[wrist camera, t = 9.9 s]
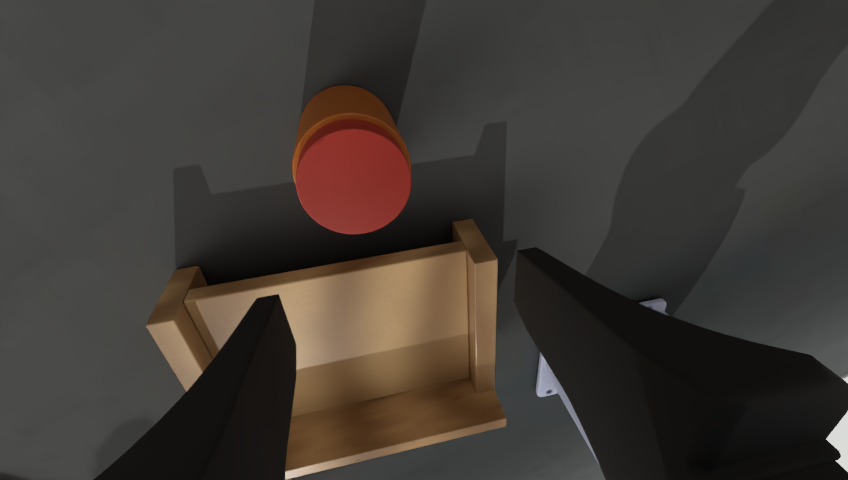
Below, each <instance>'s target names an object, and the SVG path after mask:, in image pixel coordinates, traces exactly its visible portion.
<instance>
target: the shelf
mask: <svg viewBox="0 0 848 480" xmlns="http://www.w3.org/2000/svg"><path fill="white" fill-rule="evenodd" d="M452 230H453V242H452V243H447V244H441V245H436V246H430V247H424V248H419V249H413V250H408V251H402V252H396V253H391V254H385V255H380V256H374V257H368V258H363V259H357V260H352V261H346V262H340V263H335V264H329V265H324V266H318V267H312V268H307V269H301V270H296V271H290V272H284V273H279V274H273V275H268V276H262V277H256V278H251V279H245V280H240V281H234V282H228V283H223V284H217V285H212V286H208V285H207V282H206V280H205V278H204V276H203V274H202V272H201V270H200V267H199V266H194V267H188V268H182V269H177V270H175V271H174V273H173V275H172V277H171V279H170V280H169V282H168V284H167V286H166V288H165V290H164V292H163V294H162V296H161V297H160V299H159V301H158V303H157V305H156V307H155V309H154V311H153V313H152V314H151V316H150V318H149V320H148V322H147V324H146V327H147V329H148V330H149V332H150V333H151V335H152V337H153V338H154V340H155V341H156V343H157V345H158V346H159V348H160V350H161V351H162V353H163V354H164V356H165V358H166V359H167V361H168V363H169V364H170V366H171V367H172V369H173V371H174V372H175V374H176V376H177V377H178V379H179V380H180V382H181V384H182V385H183V387H184V389H185V390H186V392H187V391H188V390H189V388H190V387H191V386H192V385H193V384H194V383H195V381H196V380H197V379H198V378H199V376H200V375H201V374H202V373H203V371H204V370H205V369H206V368H207V366H208V365H209V364H210V363H211V361H212V360H213V359H214V358H215V356H216V355H217V354H218V352H219V351H220V349H221V348H222V347H223V345H224V344H225V343H226V341H227V340H228V338H229V337H230V336H231V334H232V333H233V331H234V330H235V329H236V327H237V326H238V324H239V323H240V321H241V320H242V318H243V317H244V316H245V314H246V313H247V311H248V310H249V308H250V307H251V305H252V304H253V303H254V301H255V300H256V299H257V298H260V297H265V296H271V295H276V294H279V296H280V299H281V302H282V305H283V308H284V311H285V313H286V316H287V319H288V322H289V325H290V328H291V331H292V334H293V336H294V339H295V342H296V384H295V392H294V400H293V408H292V416H291V423H290V431H289V439H288V446H287V456H286V467H285V480H286V479H291V478H295V477H299V476H303V475H307V474H311V473H315V472H319V471H323V470H328V469H332V468H336V467H340V466H344V465H348V464H352V463H356V462H360V461H365V460H369V459H373V458H377V457H381V456H385V455H389V454H393V453H398V452H402V451H406V450H410V449H414V448H418V447H422V446H426V445H430V444H435V443H439V442H443V441H447V440H451V439H455V438H459V437H463V436H467V435H472V434H476V433H480V432H484V431H488V430H492V429H496V428H500V427H505V426H506V416H505V413H504V411H503V409H502V406H501V404H500V401H499V399H498V397H497V394H496V392H495V389H494V386H495V349H496V313H497V276H498V259H497V257H496V256H495V254H494V253H493V251H492V249H491V248H490V246H489V245H488V243H487V241H486V240H485V238H484V237H483V235H482V234H481V232H480V230H479V229H478V227H477V226H476V224H475V222H474V221H473V219H467V220H461V221H455V222H452Z"/></svg>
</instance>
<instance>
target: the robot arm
mask: <svg viewBox="0 0 848 480" xmlns="http://www.w3.org/2000/svg"><path fill="white" fill-rule="evenodd" d="M514 302H515V304H516V307H517V309H518V311H519V314H520V316H521V318H522V320H523V323H524V325H525V327H526V329H527V331H528V332H529V334H530V336H531V337H532V339H533V341H534V342H535V344H536V346H537V347H538V349H539V351H540V358H539V366H538V375H537V384H536V393H537V395H538V396H539V397H544V396H548V395H553V394H557V393H558V394H559V395H560V397H561V399H562V401H563V402H564V404H565V406H566V408H567V409H568V411H569V413H570V415H571V416H572V418H573V420H574V422H575V423H576V425H577V427H578V429H579V430H580V432H581V434H582V436H583V437H584V439H585V441H586V443H587V444H588V446H589V448H590V450H591V451H592V453H593V455H594V457H595V458H596V460H597V462H598V464H599V465H600V467H601V470H602V472H603V474H604V477H605V479H606V480H848V472H847V471H845V470H844V469H843V468H842V467H841V466H840V465H839V464H838V463H837V462H836V461H835V460H838V459H839V458H840V457H841V455H840V453H839V451H838V450H837V449H836V448H835V447H834V446H832V445H831V444H830V443H829V442H828V441H827V440H826V438H827V437H828V435H829V434H830V433H831V431H832V430H833V429H834V428H835V426H836V425H837V424H838V423H839V421H840V420H841V419H842V417H843V416H844V415H845V414H846V412H847V411H848V384H847V383H846V382H845V381H844V380H843V379H841V378H840V377H839V376H837V375H836V374H835V373H833V372H832V371H831V370H830V369H828V368H827V367H826V366H824V365H823V364H822V363H820V362H819V361H818V360H816V359H815V358H814V357H813V356H811V355H808V354H804V353H799V352H795V351H790V350H786V349H781V348H777V347H772V346H768V345H763V344H759V343H755V342H751V341H747V340H743V339H740V338H736V337H733V336H729V335H725V334H722V333H719V332H715V331H712V330H709V329H705V328H702V327H699V326H697V325H694V324H691V323H688V322H685V321H682V320H679V319H676V318H674V317H671V316H669V315H668V314H667V313H666V312H665V308H666V304H667V303H666V301H665V300H663V299H662V298H659V299H654V300H649V301H644V302H640V303H637V302H635V301H633V300H631V299H628V298H626V297H624V296H622V295H620V294H618V293H616V292H614V291H612V290H610V289H608V288H606V287H604V286H603V285H601V284H599V283H597V282H595V281H593V280H592V279H590V278H588V277H586V276H585V275H583V274H581V273H579V272H578V271H576V270H574V269H572V268H571V267H569V266H567V265H566V264H564V263H562V262H561V261H559V260H557V259H556V258H554V257H552V256H551V255H549V254H547V253H545V252H544V251H542V250H540V249H538V248H536V247H534V248H529V249H524V250H518V251H517V263H516V280H515V297H514ZM295 384H296V342H295V339H294V336H293V334H292V331H291V328H290V325H289V322H288V319H287V316H286V313H285V311H284V308H283V305H282V302H281V299H280V296H279V294H276V295H271V296H265V297H260V298H257V299H256V300H255V301H254V303H253V304H252V305H251V307H250V308H249V310H248V311H247V313H246V314H245V316H244V317H243V318H242V320H241V321H240V323H239V324H238V326H237V327H236V329H235V330H234V331H233V333H232V334H231V336H230V337H229V338H228V340H227V341H226V343H225V344H224V345H223V347H222V348H221V349H220V351H219V352H218V354H217V355H216V356H215V358H214V359H213V360H212V361H211V363H210V364H209V365H208V366H207V368H206V369H205V370H204V371H203V373H202V374H201V375H200V376H199V378H198V379H197V380H196V381H195V383H194V384H193V385H192V386H191V387H190V388H189V390H188V391H187V392H186V393H185V394H184V395H183V396H182V397H181V398H180V400H179V401H178V402H177V403H176V404H175V405H174V406H173V407H172V408H171V409H170V410H169V411H168V412H167V413H166V414H165V415H164V416H163V417H162V418H161V419H160V420H159V421H158V422H157V423H156V424H155V425H154V426H153V427H152V428H151V429H150V430H149V431H148V432H147V433H146V434H145V435H144V436H142V437H141V438H140V439H139V440H138V441H137V442H136V443H135V444H134V445H133V446H132V447H131V448H130V449H129V450H128V451H127V452H125V453H124V454H123V455H122V456H121V457H120V458H119V459H118V460H116V461H115V462H114V463H113V464H112V465H111V466H109V467H108V468H107V469H106V470H105V471H104V472H102V473H101V474H100V475H99V476H98V477H96V478H95V479H94V480H285V467H286V456H287V446H288V439H289V431H290V423H291V416H292V408H293V400H294V392H295Z"/></svg>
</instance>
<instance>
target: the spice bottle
mask: <svg viewBox="0 0 848 480" xmlns="http://www.w3.org/2000/svg"><path fill="white" fill-rule="evenodd" d="M292 174H293V179H294V183H295V186H296V190H297V194H298V197H299V200H300V202H301V204H302V206H303V208H304V209H305V211H306V212H307V213H308V214H309V215H310V216H311V218H313V219H314V220H315V221H316V222H317V223H319V224H320V225H322V226H323V227H326V228H328V229H330V230H332V231H335V232H339V233H344V234H364V233H368V232H372V231H375V230H378V229H380V228H382V227H384V226H385V225H387V224H389V223H390V222H391V221H392V220H394V219H395V218H396V217H397V216H398V215H399V214H400V212H401V211H402V209H403V208H404V206H405V205H406V203H407V200H408V198H409V195H410V191H411V161H410V156H409V153H408V149H407V147H406V145H405V143H404V141H403V139H402V137H401V135H400V133H399V131H398V129H397V127H396V125H395V123H394V121H393V119H392V117H391V115H390V113H389V111H388V109H387V108H386V106H385V105H384V104H383V103H382V101H381V100H380V99H379V98H377V97H376V96H375V95H374V94H372V93H371V92H369V91H367V90H365V89H362V88H359V87H356V86H349V85H340V86H334V87H330V88H328V89H325V90H323V91H321V92H320V93H318V94H317V95H315V96H314V97H313V98H312V99H311V100H310V101H309V103H308V104H307V105H306V107H305V109H304V110H303V113H302V115H301V119H300V123H299V128H298V133H297V138H296V143H295V149H294V154H293V160H292Z"/></svg>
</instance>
